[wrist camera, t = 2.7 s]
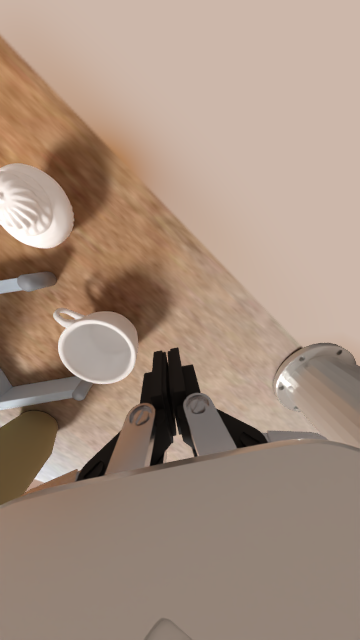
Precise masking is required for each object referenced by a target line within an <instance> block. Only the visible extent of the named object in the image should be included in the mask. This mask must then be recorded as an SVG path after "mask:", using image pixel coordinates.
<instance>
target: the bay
mask: <svg viewBox="0 0 360 640" xmlns="http://www.w3.org/2000/svg"><path fill="white" fill-rule="evenodd" d="M55 283H56V277H55V275H54V274H53V273H51V272H39V273H32V274H25V275H20V276H19V277H18V278H14V279H8V280H2V281H0V294H2V293H8V292H14V291H20V290H24V291H33V290H37V289H41V288H44V287H48V286H52V285H54V284H55ZM92 384H93V383H92V382H88V381H85V380H83V379H81V378H79V377H77V376H74V377H68V378H62V379H56V380H50V381H44V382H38V383H32V384H26V385H20V386H15V387H12V385H11V384H10V382H9V381H8V379H7V378H6V376H5V374H4V373H3V371H2V370H1V368H0V410H4V409H10V408H16V407H22V406H28V405H33V404H39V403H45V402H51V401H57V400H63V399H69V398H74V399H75V400H83V399H84V398H85V397H86V395H87V393H88V391H89V390H90V388H91V386H92Z"/></svg>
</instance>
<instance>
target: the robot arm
mask: <svg viewBox="0 0 360 640" xmlns="http://www.w3.org/2000/svg"><path fill="white" fill-rule="evenodd" d="M170 350H171V351H168V362H167V357H166V353H165V352H162V351H156V352H154V356H153V368H152V372H149V373H145V374H144V380H143V386H142V393H141V400H140V404H138V405H136V406H135V407H133V408H132V409H131V410H130V411H129V413H128V414H127V416H126V419H125V422H124V424H123V427H122V430H121V431H120V432H119V433H118V434H117V435H116V436H115V437H114V438H113V439H112V440H111V441H110V442H109V443H108V444H106V445H105V446H104V447H103V448H102V449H101V450H100V451H99V452H98V453H97V454H96V455H95V456H94V457H93V458H92V459H91V460H90V461H88V462H87V464H86V465H85V466H84V467H83V468H82V470H80V471H78V469H76V470H73V471H71V472H69V473H67V474H64V475H62V476H60V477H57V478H55V479H53V480H51V481H48V482H46V483H44V484H42V485H39V486H37V487H35V488H32V489H30V490H29V491H27V492H25V493H24V494H22V495H21V496H20V497H18V498H16V499H13V500H11V501H9V502H7V503H4V504H2V505H0V640H360V366H358V365H356V361H355V359H354V357H353V355H352V354H351V353H350V352H349V351H347V350H346V349H344V348H342V347H340V346H338V345H336V344H331V343H318V344H313V345H310V346H307V347H304V348H302V349H300V350H298V351H297V352H295V353H294V354H292V355H291V356H290V357H289V358H287V359H286V360H285V361H284V362H283V364H282V365H281V366H280V368H279V369H278V371H277V373H276V375H275V378H274V384H273V388H274V393H275V395H276V397H277V399H278V400H279V401H280V403H281V404H282V405H283V406H284V407H286V408H288V409H290V410H293V411H298V412H302V413H303V414H304V416H305V417H306V418H307V419H308V420H309V421H310V423H311V424H312V425H313V426H314V427H315V428H316V430H317V431H318V432H319V433H320V434H321V435H320V434H317V433H312V432H292V431H267V433H261V432H260V431H258V430H257V429H255V428H253V427H252V426H250V425H248V424H246V423H244V422H242V421H240V420H238V419H236V418H234V417H232V416H230V415H228V414H226V413H224V412H222V411H220V410H218V409H216V408H215V406H214V404H213V402H212V400H211V399H210V398H209V396H207V395H206V394H203V393H200V389H199V385H198V382H197V378H196V374H195V371H194V367H193V364H192V365H187V366H181V361H180V355H179V349H178V348H173V349H170ZM175 418H176V422H177V427H178V431H179V435H180V434H182V437H183V441H184V442H185V443H186V444H188V445H189V446H191V449H192V453H193V456H194V457H193V458H188V459H183V460H178V461H173V462H168V463H166V459H167V451H166V450H167V448H168V447H169V446H170V445H171V443H173V436H175V435H176V423H175Z"/></svg>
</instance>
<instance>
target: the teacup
mask: <svg viewBox="0 0 360 640" xmlns="http://www.w3.org/2000/svg"><path fill="white" fill-rule="evenodd" d="M59 313H66V314H68V315H70V316H72V317H73V318H75V319H76V320H69V319H64V318H62V317H61V316H60V315H59ZM53 317H54V319H55V320H56V321H57V322H58V323H59V324H61V325H62V326H64V327H65V328H66V329H65V330H64V331H63V333H62V334H61V336H60V338H59V342H58V351H59V355H60V358H61V360H62V362H63V363H64V365H65V366H66V367H67V369H68V370H69V371H71V372H72V373H73V374H74V375H76V376H77V377H79V378H81V379H83V380H85V381H88V382H92V383H97V384H109V383H114V382H117V381H120V380H122V379H123V378H125V377H126V376H127V375H128V374H129V373H130V372H131V371H132V369H133V367H134V365H135V361H136V357H137V352H138V335H137V331H136V329H135V327H134V325H133V324H132V323H131V322H130V321H129V320H128V319H127V318H126V317H124V316H123V315H121V314H118V313H115V312H111V311H102V312H95V313H92V314H89V315H87V316H85V315H82V314H79V313H77V312H74V311H72V310H69V309H66V308H58V309H57V310H55V312H54V314H53Z"/></svg>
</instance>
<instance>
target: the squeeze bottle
mask: <svg viewBox="0 0 360 640" xmlns="http://www.w3.org/2000/svg"><path fill="white" fill-rule="evenodd" d="M57 430H58V424H57V422H56V420H55V419H54V418H53V417H52V416H50V415H49V414H47V413H44V412H42V411H28V412H25V413H23V414H21V415H20V416H18V417H17V418H15V419H13V420H12V421H10V422H9V423H7V424H6V425H4V426H2V427H1V428H0V505H2V504H4V503H7V502H9V501H11V500H13V499H16V498H18V497H20V496H21V495H22V494H24V493H25V491H26V490H27V488H28V487H29V485H30V484H31V482H32V481H33V480H34V478H35V477H36V475H37V474H38V472H39V471H40V470H41V468H42V467H43V465H44V464H45V462H46V461H47V459H48V458H49V457H50V455H51V454H52V450H53V446H54V442H55V438H56V434H57Z"/></svg>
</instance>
